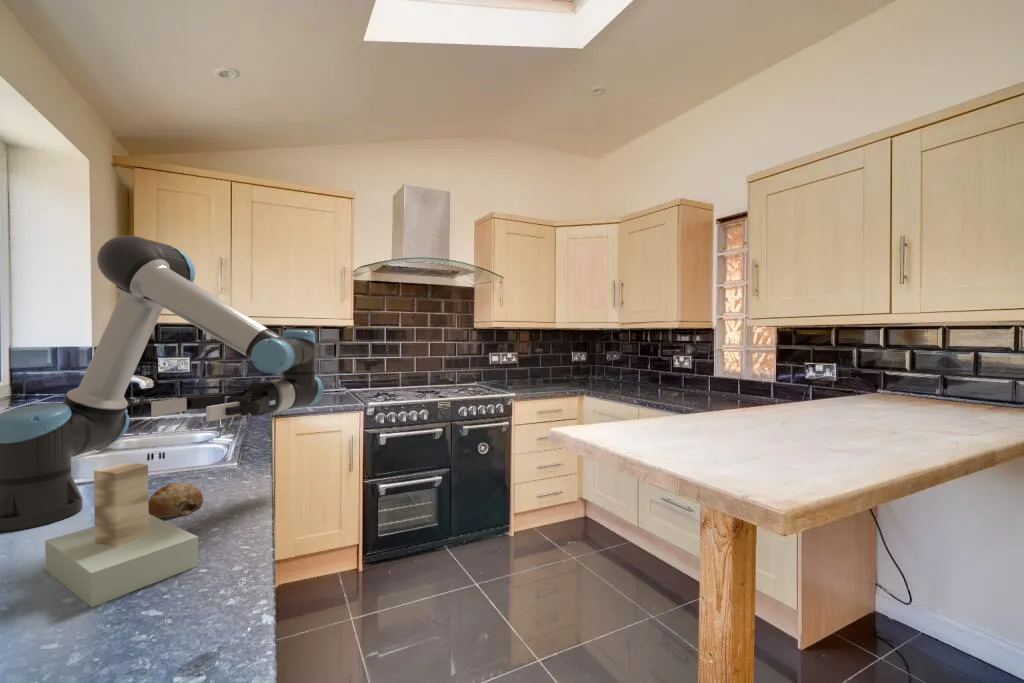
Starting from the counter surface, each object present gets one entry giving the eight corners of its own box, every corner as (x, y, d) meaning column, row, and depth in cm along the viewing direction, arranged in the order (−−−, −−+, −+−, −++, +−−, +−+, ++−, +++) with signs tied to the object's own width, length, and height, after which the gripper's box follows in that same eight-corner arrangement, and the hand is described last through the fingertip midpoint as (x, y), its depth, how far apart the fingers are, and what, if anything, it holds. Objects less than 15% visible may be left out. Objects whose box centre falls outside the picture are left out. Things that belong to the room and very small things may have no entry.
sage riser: (45, 570, 77) (45, 540, 77) (145, 538, 89) (145, 512, 89) (91, 607, 67) (91, 573, 67) (198, 565, 79) (198, 536, 79)
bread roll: (165, 538, 97) (178, 505, 97) (128, 514, 99) (141, 481, 98) (205, 519, 107) (217, 489, 106) (171, 497, 109) (183, 468, 108)
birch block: (94, 542, 76) (93, 470, 76) (127, 530, 81) (126, 462, 81) (116, 547, 75) (115, 473, 74) (148, 534, 80) (148, 464, 79)
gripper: (313, 417, 104) (232, 436, 83) (225, 409, 111) (131, 426, 90) (313, 383, 104) (232, 395, 83) (226, 378, 111) (131, 387, 90)
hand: (179, 411), depth 87 cm, fingers open, 13 cm apart
